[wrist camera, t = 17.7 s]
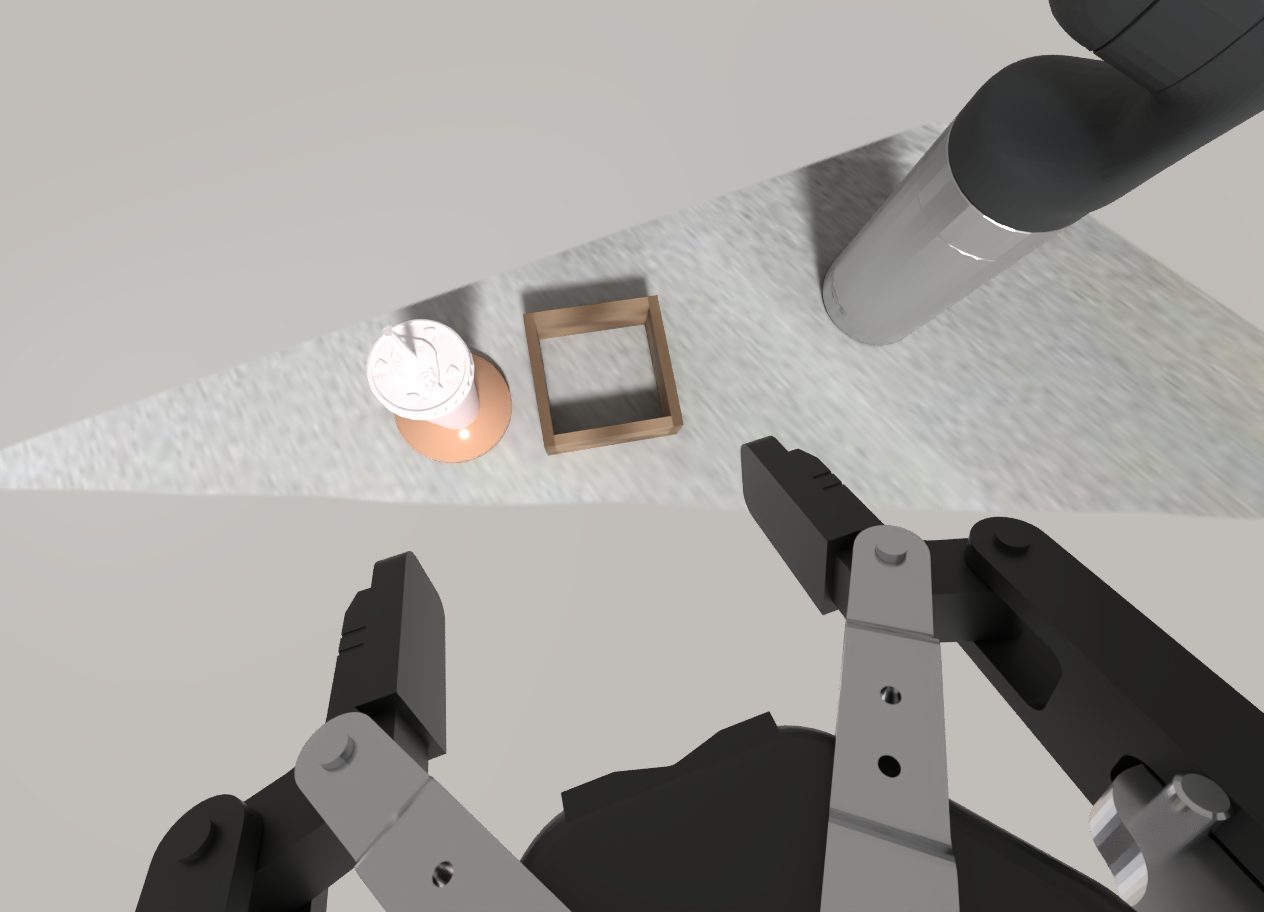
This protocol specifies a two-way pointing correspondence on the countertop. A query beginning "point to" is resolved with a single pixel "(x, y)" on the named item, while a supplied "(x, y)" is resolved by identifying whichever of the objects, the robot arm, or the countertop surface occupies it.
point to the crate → (597, 320)
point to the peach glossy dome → (473, 437)
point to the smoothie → (424, 373)
